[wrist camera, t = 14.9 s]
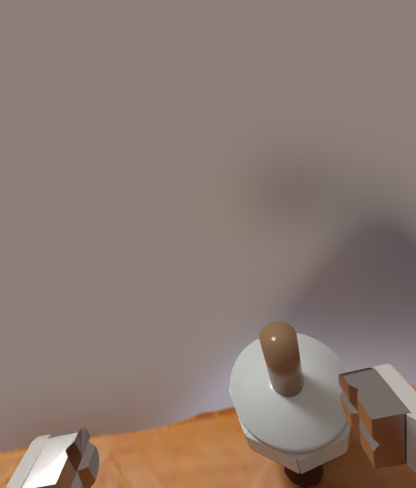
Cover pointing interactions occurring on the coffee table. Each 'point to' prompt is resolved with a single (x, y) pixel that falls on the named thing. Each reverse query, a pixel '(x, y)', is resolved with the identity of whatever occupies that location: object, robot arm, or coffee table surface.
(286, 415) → the hexagonal peg stand
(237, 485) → the coffee table surface
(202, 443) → the coffee table surface
